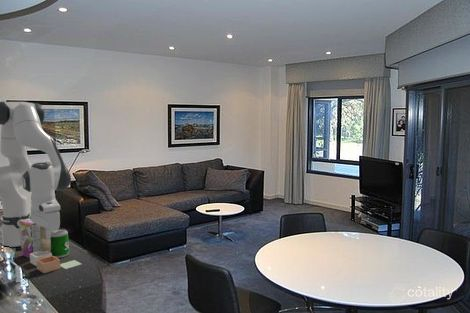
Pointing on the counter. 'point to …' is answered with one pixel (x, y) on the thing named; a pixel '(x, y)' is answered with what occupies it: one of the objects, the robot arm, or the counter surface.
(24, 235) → the candy bar box
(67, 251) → the soda can
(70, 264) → the coaster
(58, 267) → the orange square socket block
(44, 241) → the beech peg
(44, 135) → the robot arm
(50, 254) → the light grey square bin
